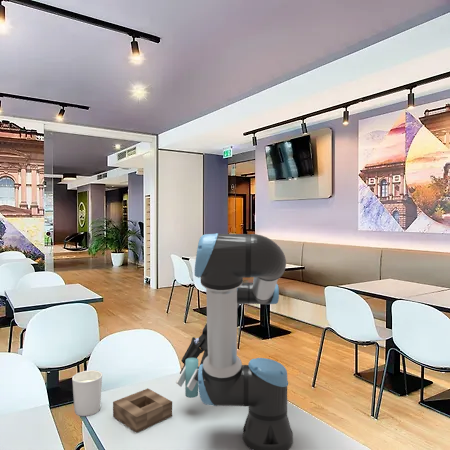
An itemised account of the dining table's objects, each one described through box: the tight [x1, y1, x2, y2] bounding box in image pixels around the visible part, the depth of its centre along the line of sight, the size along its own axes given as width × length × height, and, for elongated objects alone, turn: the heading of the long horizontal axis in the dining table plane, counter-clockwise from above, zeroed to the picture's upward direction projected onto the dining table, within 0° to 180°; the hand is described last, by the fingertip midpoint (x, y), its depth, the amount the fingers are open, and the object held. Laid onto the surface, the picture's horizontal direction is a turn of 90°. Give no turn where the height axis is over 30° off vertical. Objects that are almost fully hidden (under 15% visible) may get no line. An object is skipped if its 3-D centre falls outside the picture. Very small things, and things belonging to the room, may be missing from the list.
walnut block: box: [112, 388, 173, 434], centre depth 130 cm, size 14×14×5 cm
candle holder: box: [71, 370, 103, 417], centre depth 134 cm, size 10×10×12 cm
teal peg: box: [184, 357, 199, 399], centre depth 133 cm, size 4×4×12 cm
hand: (184, 386), depth 130 cm, fingers closed on teal peg, 4 cm apart
